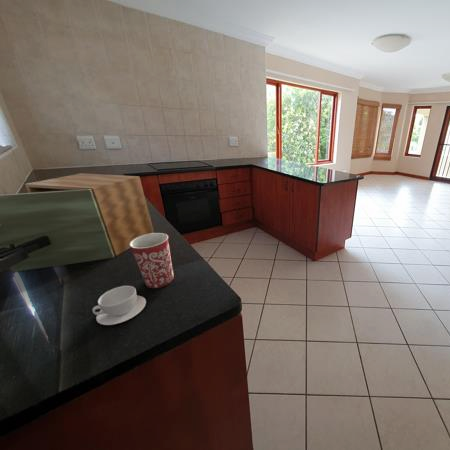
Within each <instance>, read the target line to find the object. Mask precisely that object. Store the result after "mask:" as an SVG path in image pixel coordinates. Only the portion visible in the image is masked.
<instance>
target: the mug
mask: <svg viewBox="0 0 450 450" xmlns="http://www.w3.org/2000/svg"><path fill="white" fill-rule="evenodd" d="M129 245H130V247H131V248H130V249H131V251H132V254H133V255H134V256H133V257H134V258H135V261H136V263H137V266H138V268H139V271H140V274H141V276H142V279H143V281H144V284H145V286H146V287H147V288H150V289H160V288H163V287H166V286H167V285H169V284H170V283H171V282H173V280H174V278H175V275H174V267H173V262H172V257H171V249H170V244H169V235H168V234H167V233H163V232H154V233H151V234H146V235H142V236H140V237H137V238H135V239H134V240H132V241H131V242H130V244H129Z"/></svg>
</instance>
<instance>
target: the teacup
mask: <svg viewBox="0 0 450 450" xmlns="http://www.w3.org/2000/svg"><path fill="white" fill-rule="evenodd" d="M146 304H147V300H146V298H145V297H144V296H141V295H137V289H136V287H134V286H132V285H121V286H117V287H114V288H112V289H109V290H107V291H105V292H104V293H103V294H102V295H100V297H99V298H98V300H97V305H95V306H94V307H93V308H92V314H94V316H96V317H95V319H96V322H97V323H98V324H100V325H103V326H113V325H117V324H121V323H124V322H127V321H129V320H130V319H133V318H134V317H135V316H137V315H138V314H140V313H141V312H142V311H143V310H144V308H145V307H146ZM96 310H99V311H96Z"/></svg>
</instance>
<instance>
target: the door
mask: <svg viewBox="0 0 450 450" xmlns="http://www.w3.org/2000/svg"><path fill="white" fill-rule="evenodd" d="M42 236H48V238H49V240H50V242H51V245H48V246H46V247H43V248H41V249H39V250H36V251H34V252H31V253H29V254H28V256H29V258H27V259H25V260H23V261H21V262H19V263H17V264H15V265H13V266H12V267H10V268H9V269H10V271H11V273H18V272H25V271H30V270H31V271H32V270H39V269H45V268H51V267H59V266H65V265H73V264H80V263H86V262H94V261H100V260H101V261H102V260H107V259H114V258H115V257H116V256H115V255H114V253H113V250H112V247H111V244H110V241H109V238H108V235H107V232H106V230H105V227H104V224H103V221H102V218H101V215H100V212H99V209H98V207H97V204H96V201H95V198H94V195H93V192H92V189H83V190H67V191H52V192H36V193H29V192H23V193H22V192H21V193H8V194H7V193H6V194H0V248H2V247H7V248H9V247H10V246H9V245H10V244H14V245H15V247H17V246H18V245H20V244H23V243H26V242H28V241H31V240H34V239H36V238H39V237H42Z"/></svg>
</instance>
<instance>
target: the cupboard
mask: <svg viewBox="0 0 450 450" xmlns="http://www.w3.org/2000/svg"><path fill="white" fill-rule="evenodd" d="M24 185H25V187H26V190H27V193H36V192H52V191H67V190H83V189H92V192H93V195H94V198H95V201H96V204H97V207H98V209H99V212H100V215H101V218H102V221H103V224H104V227H105V230H106V232H107V235H108V238H109V241H110V244H111V247H112V250H113V253H114V255H115V256H114V257H116V256H117V257H118V255H120V254H122V253H124V252H126V251H127V250H129V249H132V248H131V247H130V245H129V244H130V242H131V241H132V240H134V239H135V238H137V237H140V236H142V235H146V234H151V233H155V232H154V228H153V223H152V220H151V215H150V213H149V212H150V211H149V208H148V204H147V200H146V197H145V193H144V189H143V185H142V181H141V177H140V176H139V175H138V176H136V175H118V174H100V173H83V172H82V173H75V174H71V175H66V176H65V175H64V176H60V177H54V178H50V179H45V180H39V181H34V182H28V183H24Z"/></svg>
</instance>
